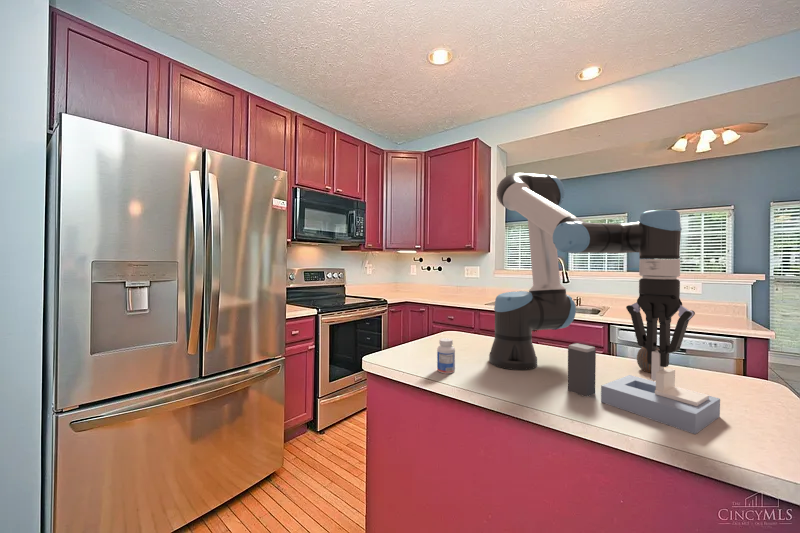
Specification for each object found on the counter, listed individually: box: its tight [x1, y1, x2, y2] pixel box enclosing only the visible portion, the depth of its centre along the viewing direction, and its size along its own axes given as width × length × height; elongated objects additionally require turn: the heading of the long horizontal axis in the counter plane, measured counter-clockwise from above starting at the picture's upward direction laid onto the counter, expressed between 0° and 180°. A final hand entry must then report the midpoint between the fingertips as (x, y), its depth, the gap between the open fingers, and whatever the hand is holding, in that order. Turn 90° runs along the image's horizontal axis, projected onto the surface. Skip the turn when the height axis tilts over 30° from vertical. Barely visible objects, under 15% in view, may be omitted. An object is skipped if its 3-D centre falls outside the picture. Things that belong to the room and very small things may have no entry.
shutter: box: [655, 367, 710, 406], centre depth 76 cm, size 8×7×5 cm
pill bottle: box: [436, 337, 456, 375], centre depth 105 cm, size 6×5×10 cm
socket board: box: [600, 374, 721, 435], centre depth 79 cm, size 18×14×4 cm
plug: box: [567, 342, 597, 398], centre depth 89 cm, size 5×4×12 cm
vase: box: [636, 346, 659, 374], centre depth 105 cm, size 7×7×9 cm
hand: (657, 379), depth 79 cm, fingers closed
